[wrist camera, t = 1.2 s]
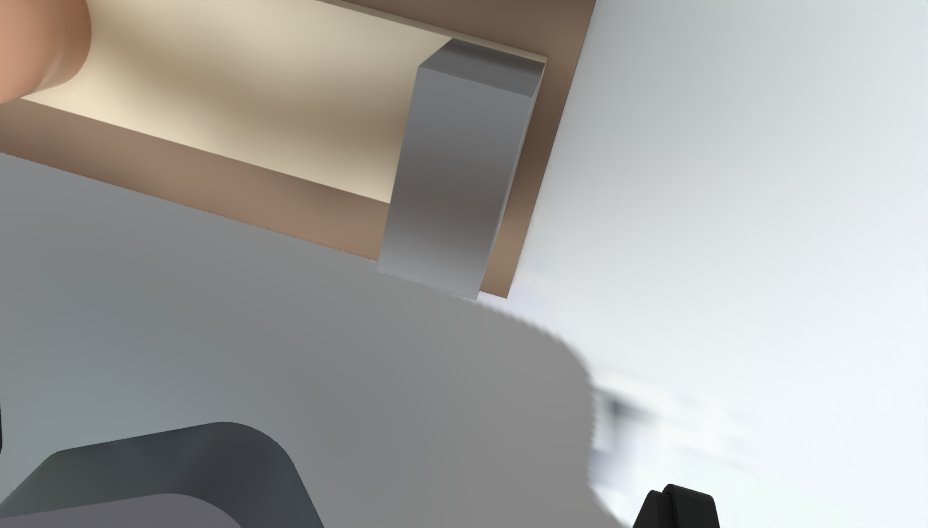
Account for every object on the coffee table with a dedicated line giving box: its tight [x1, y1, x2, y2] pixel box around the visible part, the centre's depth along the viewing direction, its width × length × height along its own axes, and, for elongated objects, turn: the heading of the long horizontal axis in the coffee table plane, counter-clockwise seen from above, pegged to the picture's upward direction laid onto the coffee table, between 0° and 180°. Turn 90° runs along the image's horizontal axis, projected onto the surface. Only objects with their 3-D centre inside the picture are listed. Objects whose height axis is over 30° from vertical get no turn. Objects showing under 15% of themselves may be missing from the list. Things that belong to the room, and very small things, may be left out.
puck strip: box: [20, 0, 548, 300], centre depth 24 cm, size 6×22×6 cm, turn 77°
